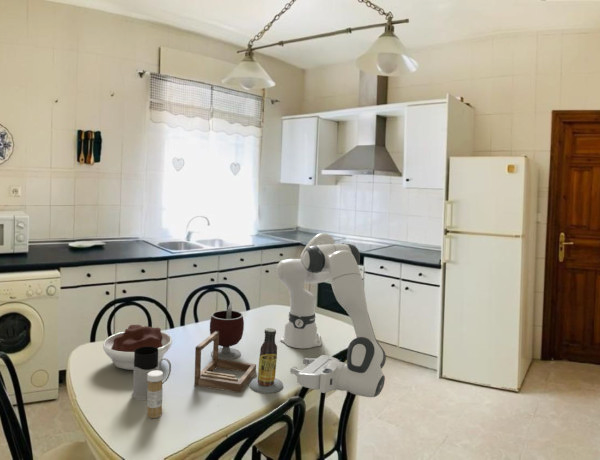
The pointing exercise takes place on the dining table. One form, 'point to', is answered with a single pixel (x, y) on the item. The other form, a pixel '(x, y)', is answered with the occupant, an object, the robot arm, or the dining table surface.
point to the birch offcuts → (220, 376)
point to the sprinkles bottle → (154, 394)
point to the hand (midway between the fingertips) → (297, 365)
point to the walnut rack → (222, 364)
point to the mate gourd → (227, 332)
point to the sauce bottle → (267, 359)
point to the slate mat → (266, 389)
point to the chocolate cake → (135, 344)
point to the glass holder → (145, 370)
